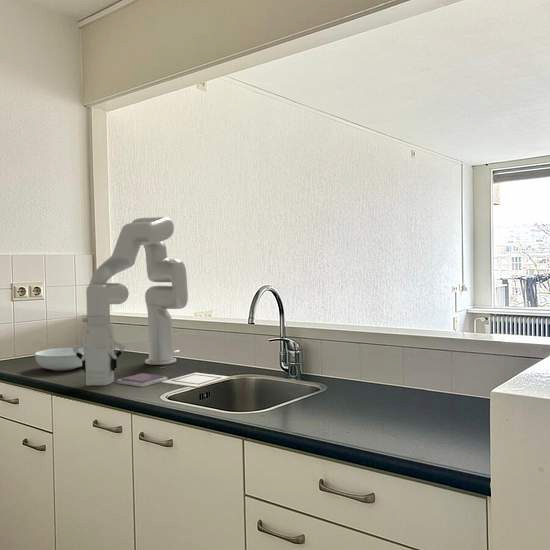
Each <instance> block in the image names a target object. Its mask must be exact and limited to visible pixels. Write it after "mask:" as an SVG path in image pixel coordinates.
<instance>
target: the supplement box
mask: <svg viewBox="0 0 550 550" xmlns="http://www.w3.org/2000/svg"><path fill="white" fill-rule="evenodd" d="M112 359H113V357H112V356H111V355H110V354H108V350H107V348H95V349H90V353H89V354H85V365H86V373H85V380H86V381H85V382H86V385H85V386H108V385H109V384H111V383H113V382H115V376H114V375H115V374H114V372H115V371H112Z"/></svg>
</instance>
